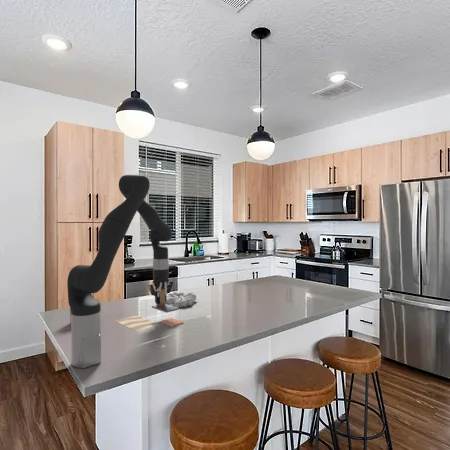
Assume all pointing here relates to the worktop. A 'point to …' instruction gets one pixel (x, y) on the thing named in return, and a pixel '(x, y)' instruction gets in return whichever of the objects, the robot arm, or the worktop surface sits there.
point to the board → (136, 323)
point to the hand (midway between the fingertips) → (160, 303)
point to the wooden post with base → (162, 305)
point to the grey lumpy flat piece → (180, 299)
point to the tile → (171, 322)
